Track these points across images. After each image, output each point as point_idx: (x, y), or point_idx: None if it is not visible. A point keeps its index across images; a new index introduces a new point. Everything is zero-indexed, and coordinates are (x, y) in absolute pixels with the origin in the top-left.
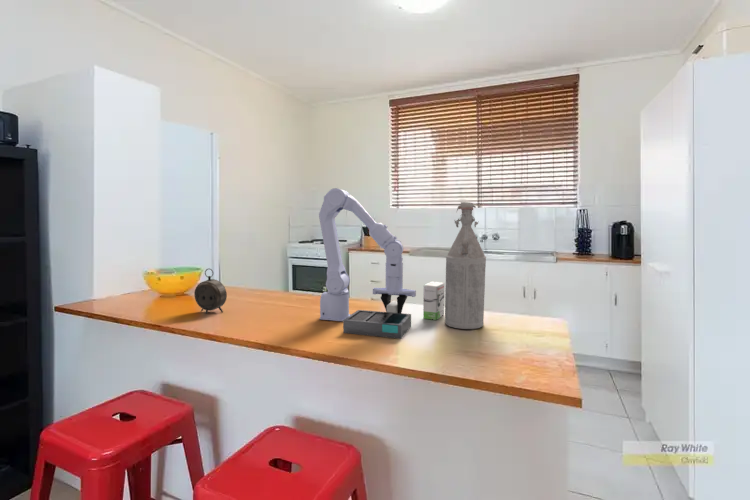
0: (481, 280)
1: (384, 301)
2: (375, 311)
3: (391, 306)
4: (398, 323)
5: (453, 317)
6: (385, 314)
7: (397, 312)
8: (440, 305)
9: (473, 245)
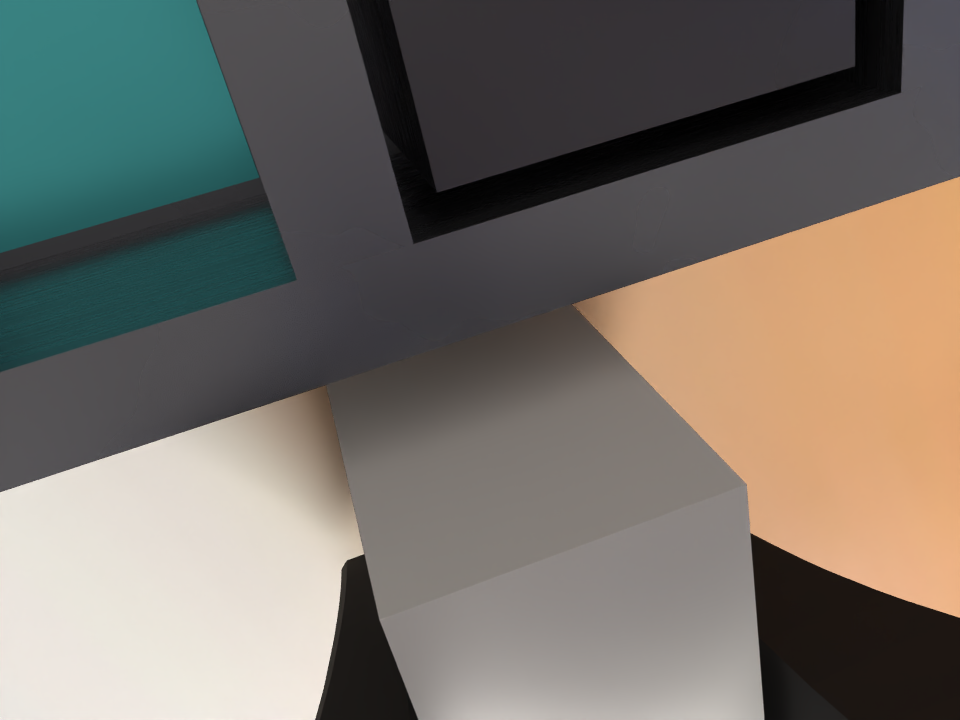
0: None
1: (954, 668)
2: (946, 152)
3: (536, 545)
4: (76, 183)
5: None
6: (514, 54)
7: None
8: None
9: None
